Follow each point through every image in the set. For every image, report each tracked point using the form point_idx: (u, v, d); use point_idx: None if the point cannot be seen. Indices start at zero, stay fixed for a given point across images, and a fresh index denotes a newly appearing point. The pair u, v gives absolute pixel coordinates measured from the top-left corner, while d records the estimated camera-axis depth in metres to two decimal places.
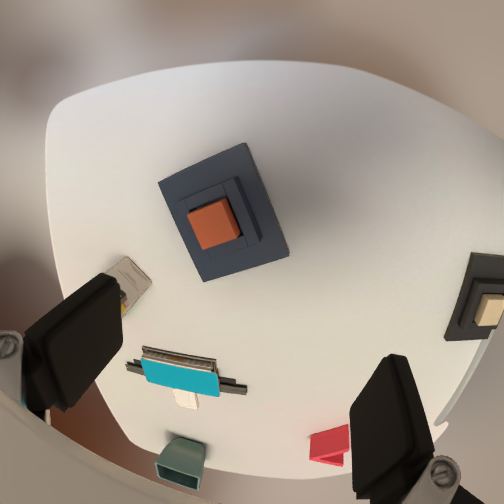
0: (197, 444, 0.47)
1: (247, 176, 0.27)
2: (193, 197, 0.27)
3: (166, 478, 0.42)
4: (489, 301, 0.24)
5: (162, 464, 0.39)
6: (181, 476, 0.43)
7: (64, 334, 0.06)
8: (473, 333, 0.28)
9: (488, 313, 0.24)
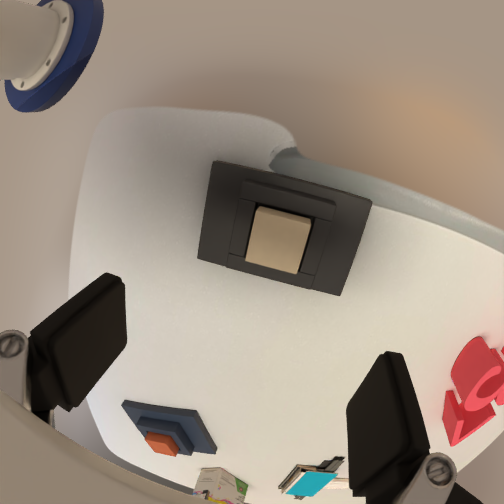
0: None
1: (140, 412, 0.34)
2: None
3: None
4: (249, 257, 0.19)
5: None
6: None
7: (70, 334, 0.06)
8: (344, 242, 0.21)
9: (274, 255, 0.19)
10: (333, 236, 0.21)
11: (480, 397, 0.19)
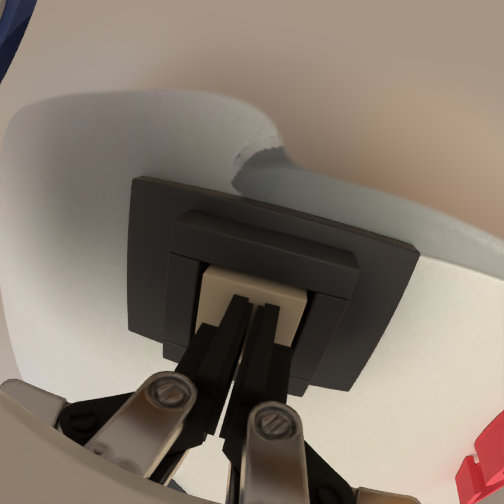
0: None
1: None
2: None
3: None
4: None
5: None
6: None
7: (232, 365, 0.07)
8: (365, 321, 0.11)
9: None
10: (347, 312, 0.11)
11: None
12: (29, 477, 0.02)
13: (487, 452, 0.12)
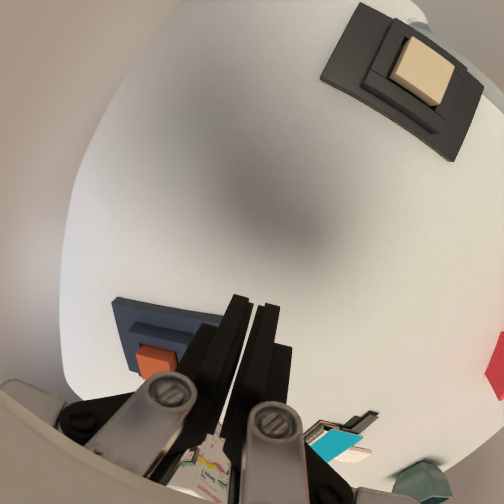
0: (417, 465, 0.32)
1: (137, 315, 0.27)
2: (137, 363, 0.27)
3: None
4: (400, 71, 0.14)
5: None
6: (430, 498, 0.27)
7: (232, 365, 0.07)
8: (463, 109, 0.15)
9: (423, 78, 0.13)
10: (455, 100, 0.15)
11: None
12: (29, 477, 0.02)
13: None
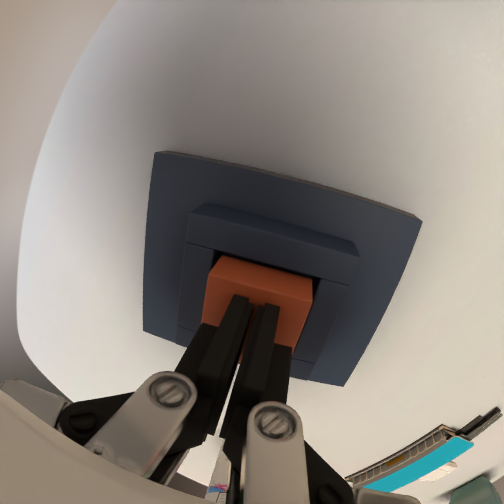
0: (476, 480, 0.20)
1: (217, 185, 0.12)
2: (183, 309, 0.12)
3: None
4: None
5: None
6: None
7: (233, 365, 0.07)
8: None
9: None
10: None
11: None
12: (29, 477, 0.02)
13: None
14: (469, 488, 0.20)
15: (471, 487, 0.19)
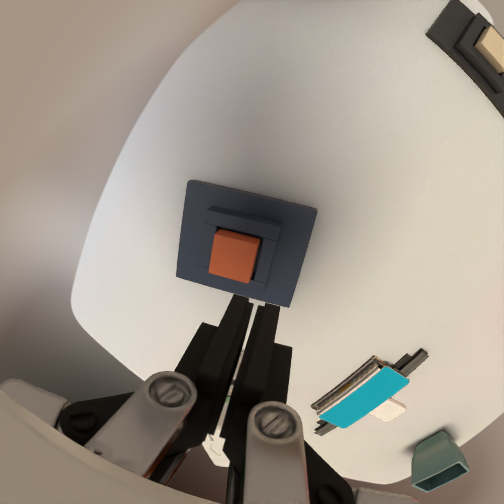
0: (436, 435, 0.33)
1: (218, 197, 0.26)
2: (201, 256, 0.26)
3: (435, 487, 0.28)
4: (483, 43, 0.13)
5: (419, 480, 0.27)
6: (446, 473, 0.29)
7: (233, 365, 0.07)
8: None
9: (497, 52, 0.13)
10: None
11: None
12: (29, 477, 0.02)
13: None
14: (430, 441, 0.33)
15: (432, 440, 0.33)
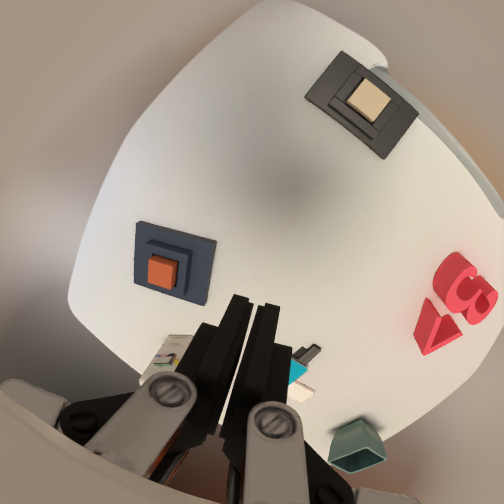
0: (355, 422, 0.47)
1: (154, 234, 0.39)
2: (145, 271, 0.39)
3: (356, 469, 0.42)
4: (351, 99, 0.26)
5: (333, 459, 0.41)
6: (367, 458, 0.42)
7: (233, 365, 0.07)
8: (398, 126, 0.29)
9: (365, 105, 0.26)
10: (393, 120, 0.28)
11: (458, 297, 0.30)
12: (29, 477, 0.02)
13: (444, 275, 0.32)
14: (349, 426, 0.46)
15: (350, 426, 0.46)
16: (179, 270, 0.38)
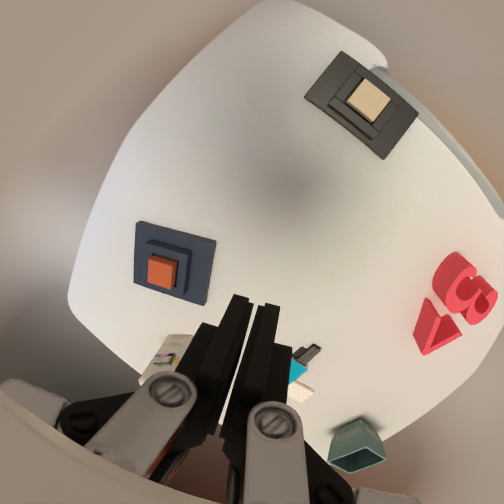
0: (355, 421, 0.47)
1: (154, 234, 0.39)
2: (144, 271, 0.39)
3: (356, 469, 0.42)
4: (350, 99, 0.26)
5: (332, 458, 0.41)
6: (366, 458, 0.42)
7: (232, 365, 0.07)
8: (397, 126, 0.29)
9: (365, 105, 0.26)
10: (392, 120, 0.28)
11: (457, 297, 0.30)
12: (29, 477, 0.02)
13: (443, 275, 0.32)
14: (348, 426, 0.46)
15: (350, 426, 0.46)
16: (179, 270, 0.38)
